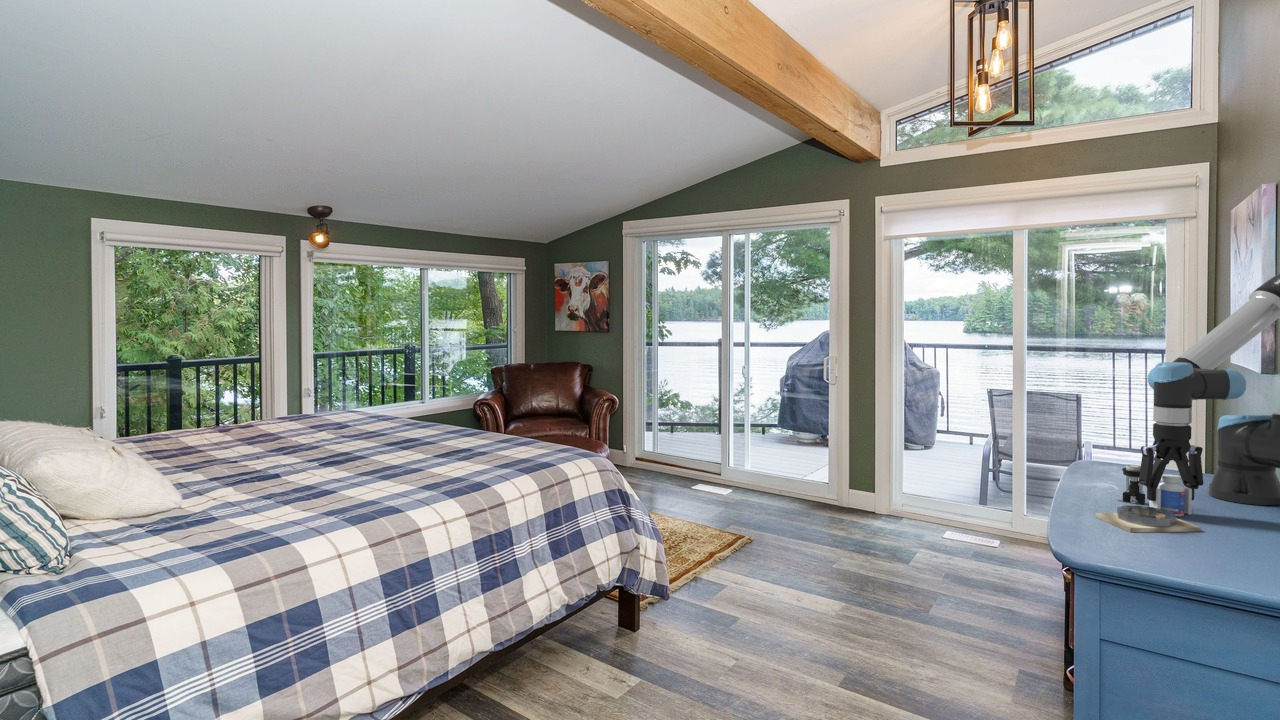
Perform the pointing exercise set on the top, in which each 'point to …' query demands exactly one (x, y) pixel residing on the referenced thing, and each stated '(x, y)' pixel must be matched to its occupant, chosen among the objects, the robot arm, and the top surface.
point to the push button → (1133, 486)
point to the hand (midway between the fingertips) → (1170, 512)
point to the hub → (1146, 516)
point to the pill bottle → (1172, 494)
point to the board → (1130, 527)
